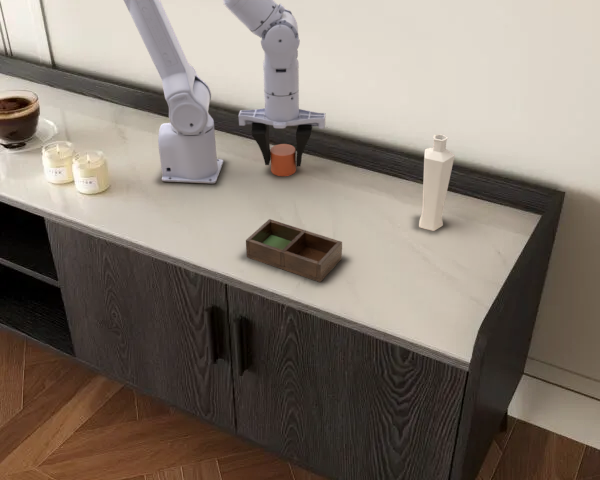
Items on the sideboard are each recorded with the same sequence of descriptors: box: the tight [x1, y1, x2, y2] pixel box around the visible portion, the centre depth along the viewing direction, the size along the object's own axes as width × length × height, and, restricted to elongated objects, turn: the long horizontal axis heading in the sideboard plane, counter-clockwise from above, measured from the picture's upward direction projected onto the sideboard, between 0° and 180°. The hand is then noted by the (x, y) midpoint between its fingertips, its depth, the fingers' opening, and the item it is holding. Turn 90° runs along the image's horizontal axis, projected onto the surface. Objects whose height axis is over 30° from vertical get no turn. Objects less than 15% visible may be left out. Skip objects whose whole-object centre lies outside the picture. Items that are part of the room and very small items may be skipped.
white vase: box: [418, 133, 455, 232], centre depth 116 cm, size 5×4×15 cm
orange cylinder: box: [270, 143, 297, 177], centre depth 133 cm, size 4×4×4 cm
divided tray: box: [245, 218, 343, 283], centre depth 113 cm, size 13×7×3 cm, turn 60°
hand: (283, 163), depth 133 cm, fingers open, 5 cm apart
